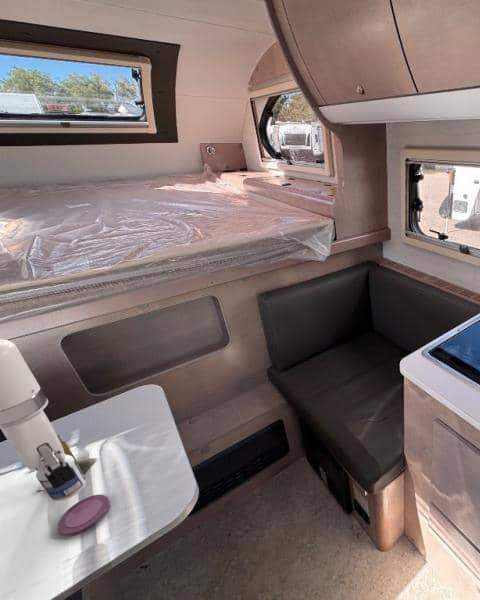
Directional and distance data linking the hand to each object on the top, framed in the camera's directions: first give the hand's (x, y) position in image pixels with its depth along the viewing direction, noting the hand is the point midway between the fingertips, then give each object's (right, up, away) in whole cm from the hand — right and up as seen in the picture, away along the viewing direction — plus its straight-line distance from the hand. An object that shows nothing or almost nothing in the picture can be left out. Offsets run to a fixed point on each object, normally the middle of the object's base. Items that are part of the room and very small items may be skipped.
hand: (59, 474), depth 65 cm
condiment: (-13, -8, +15) cm, 21 cm away
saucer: (0, -12, +6) cm, 13 cm away
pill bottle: (0, -5, +2) cm, 5 cm away
